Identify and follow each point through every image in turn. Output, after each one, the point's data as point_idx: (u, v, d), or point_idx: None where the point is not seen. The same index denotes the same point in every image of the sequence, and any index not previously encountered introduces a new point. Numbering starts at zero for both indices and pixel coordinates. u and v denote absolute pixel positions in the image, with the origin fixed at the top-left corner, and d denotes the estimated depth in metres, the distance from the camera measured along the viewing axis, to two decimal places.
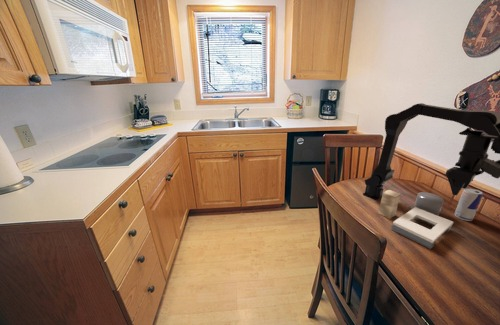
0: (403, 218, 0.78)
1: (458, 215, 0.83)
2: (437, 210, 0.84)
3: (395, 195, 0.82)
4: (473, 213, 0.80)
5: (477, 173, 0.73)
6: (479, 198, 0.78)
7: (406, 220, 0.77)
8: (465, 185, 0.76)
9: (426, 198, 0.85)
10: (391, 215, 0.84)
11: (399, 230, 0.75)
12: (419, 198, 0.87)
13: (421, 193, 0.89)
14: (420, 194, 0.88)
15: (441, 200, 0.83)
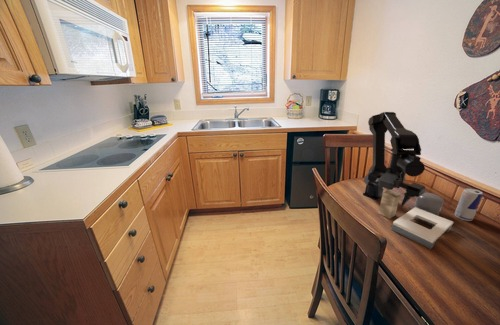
0: (403, 218, 0.78)
1: (458, 215, 0.83)
2: (437, 210, 0.84)
3: (395, 195, 0.82)
4: (473, 213, 0.80)
5: None
6: (479, 198, 0.78)
7: (406, 220, 0.77)
8: None
9: (426, 198, 0.85)
10: (391, 215, 0.84)
11: (399, 230, 0.75)
12: (419, 198, 0.87)
13: None
14: None
15: (441, 200, 0.84)
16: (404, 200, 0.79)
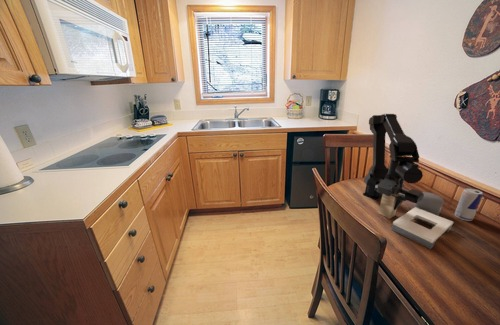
0: (403, 218, 0.78)
1: (458, 215, 0.83)
2: (437, 210, 0.84)
3: (395, 195, 0.82)
4: (473, 213, 0.80)
5: None
6: (479, 198, 0.78)
7: (406, 220, 0.77)
8: None
9: (426, 198, 0.85)
10: (391, 215, 0.84)
11: (399, 230, 0.75)
12: None
13: None
14: None
15: (441, 200, 0.83)
16: (396, 204, 0.82)
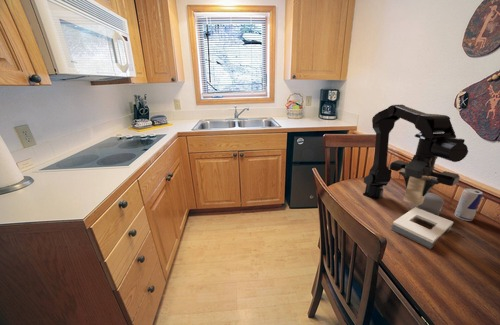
0: (403, 218, 0.78)
1: (458, 215, 0.83)
2: (437, 211, 0.84)
3: (424, 179, 0.72)
4: (473, 213, 0.80)
5: None
6: (479, 198, 0.78)
7: (406, 220, 0.77)
8: None
9: (426, 198, 0.85)
10: (419, 202, 0.75)
11: (399, 230, 0.75)
12: None
13: None
14: None
15: (441, 200, 0.83)
16: (426, 188, 0.72)
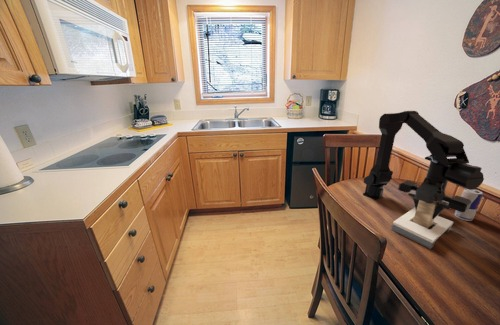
0: (403, 218, 0.78)
1: (458, 215, 0.83)
2: None
3: (435, 202, 0.71)
4: (473, 213, 0.80)
5: (438, 205, 0.70)
6: (479, 198, 0.78)
7: (406, 220, 0.77)
8: (433, 215, 0.73)
9: None
10: (429, 225, 0.74)
11: (399, 230, 0.75)
12: None
13: None
14: None
15: None
16: (436, 212, 0.71)
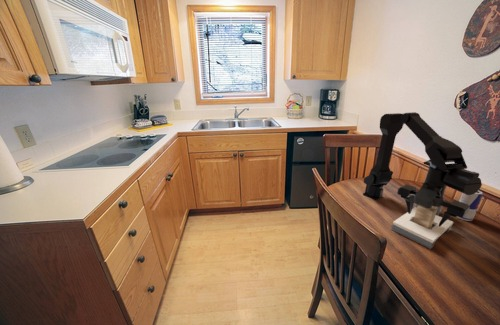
0: (403, 218, 0.78)
1: None
2: None
3: (432, 209, 0.72)
4: (473, 213, 0.80)
5: (445, 212, 0.69)
6: (479, 198, 0.78)
7: (406, 220, 0.77)
8: (439, 223, 0.72)
9: None
10: None
11: (399, 230, 0.75)
12: None
13: None
14: None
15: None
16: (443, 219, 0.70)
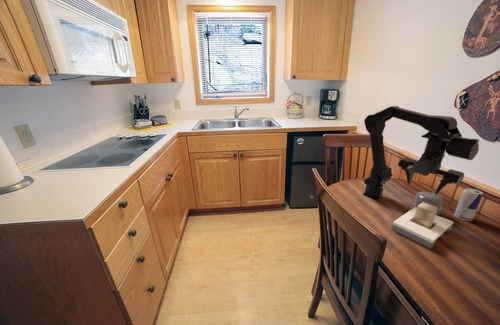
0: (403, 218, 0.78)
1: (458, 215, 0.83)
2: None
3: (432, 209, 0.72)
4: (473, 213, 0.80)
5: (441, 180, 0.75)
6: (479, 198, 0.78)
7: (406, 220, 0.77)
8: (436, 191, 0.78)
9: (422, 196, 0.86)
10: None
11: (399, 230, 0.75)
12: (416, 196, 0.89)
13: (423, 192, 0.89)
14: (420, 193, 0.89)
15: (438, 200, 0.83)
16: (439, 187, 0.76)
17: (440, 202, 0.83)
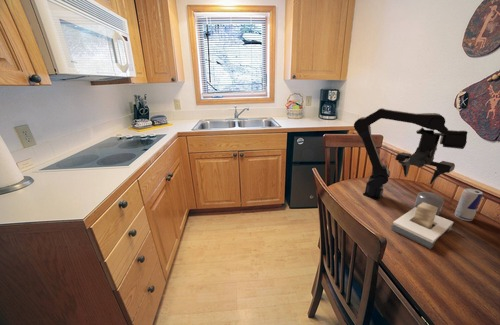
0: (403, 218, 0.78)
1: (458, 215, 0.83)
2: None
3: (432, 209, 0.72)
4: (473, 213, 0.80)
5: (434, 171, 0.83)
6: (479, 198, 0.78)
7: (406, 220, 0.77)
8: None
9: (423, 196, 0.86)
10: None
11: (399, 230, 0.75)
12: (417, 195, 0.89)
13: (426, 192, 0.89)
14: (422, 192, 0.89)
15: (438, 201, 0.83)
16: (433, 177, 0.84)
17: (440, 203, 0.82)
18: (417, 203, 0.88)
